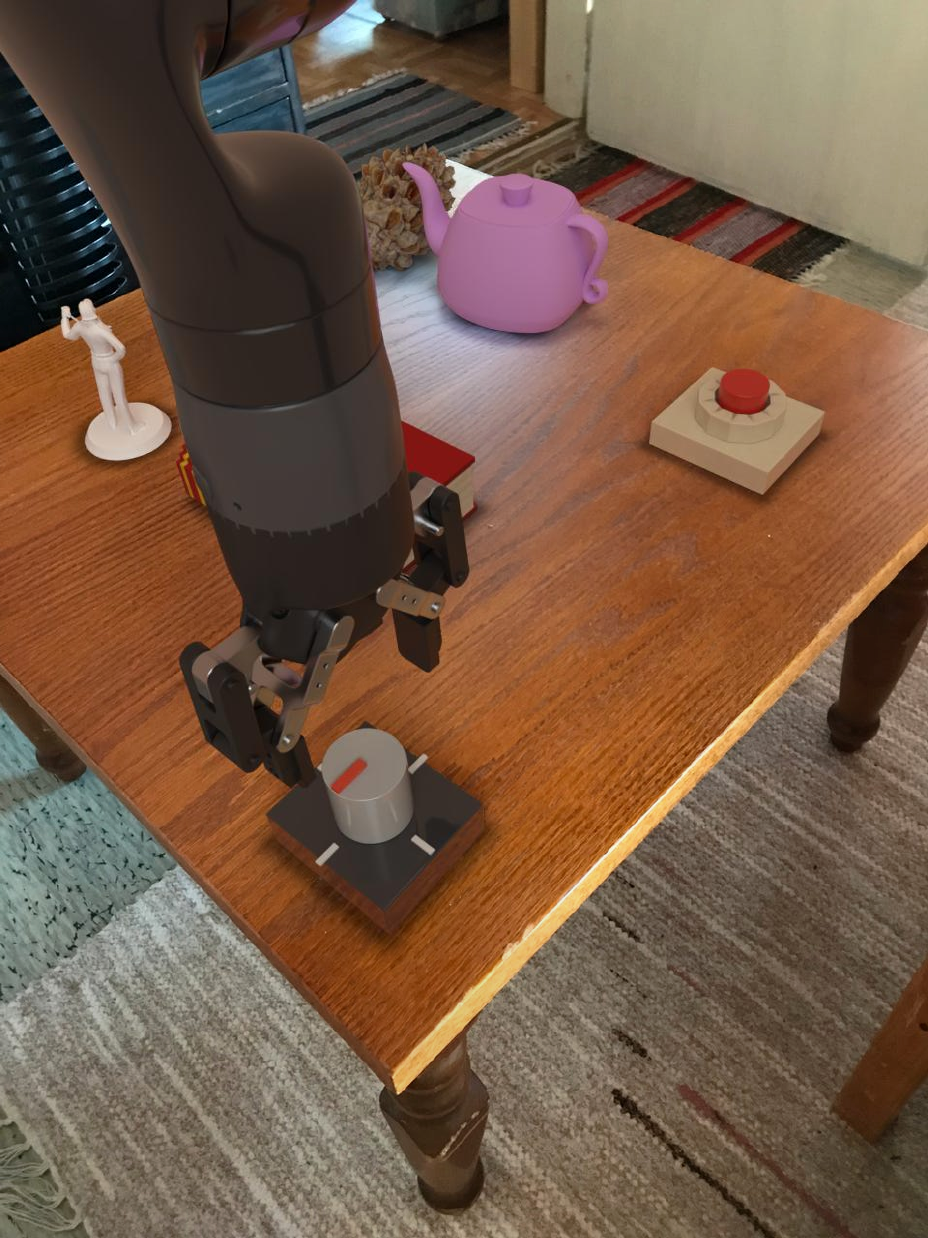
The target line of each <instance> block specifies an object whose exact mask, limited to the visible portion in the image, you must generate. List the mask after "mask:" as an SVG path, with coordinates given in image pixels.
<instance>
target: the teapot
mask: <svg viewBox="0 0 928 1238" xmlns="http://www.w3.org/2000/svg"><path fill="white" fill-rule="evenodd" d="M402 165H403V167H404V169H405V170H406V171H407V172H408V173H409V175H410V176H411V177H412V178H413V179H414V181H415V183H416V184H417V186H418V188H419V192H420V195H421V200H422V209H423V222H424V231H425V235H426V239H427V241H428V244H429V246H430V248H429V249H430V250H431V251H432V253H433V254H434V256H435V257H437V259H438V260H437V261H438V263H437V271H436V286H437V290H438V294H439V296H440V297H441V299H442V300H443V302H444V303H445V304H446V306H447V307H448V308H449V309H450V310H451V311H452V312H453V313H454V314H455V315H457V316H459V317H460V318H462V319H464V320H466V321H468V322H470V323H472V324H475V325H478V326H480V327H483V328H487V329H490V330H496V331H500V332H508V333H520V334H536V333H545V332H549V331H552V330H554V329H556V328H558V327H560V326H561V325H562V324H564V323H565V322H566V321H567V320H568V319H570V317H571V316H572V315H573V314H574V313H575V312H576V311H577V309H578V308H579V307H580V306H581V305H582V303H583V302H585V303H587V304H589V305H596V304H597V305H598V304H600V303H603V302H604V301H605V300H606V299H607V298H608V295H609V292H610V291H609V290H610V287H609V284H608V283H607V281H606V280H605V279H604V278H602V277H597V275H598V273H599V271H600V270H601V267H602V265H603V263H604V260H605V258H606V255H607V253H608V250H609V249H608V248H609V234H608V231H607V229H606V227H605V226H604V224H602V222H601V221H600V220H599V219H597V218H596V217H594V216H593V215H590V214H587V213H584V211H583V209H582V207H581V204H580V203H579V201H578V199H577V197H576V195H575V194H574V192H572V191H571V190H570V189H569V188H568V187H565V186H563V185H560V184H557V183H555V182H551V181H549V180H545V179H540V178H535V177H532V176H530V175H528V174H523V173H511V174H507V175H500V176H499V175H497V176H493V177H487V178H485V179H484V180H482V181H480V182H479V183H477V184H476V185H474V187H473V188H472V189H470V190H469V191H468V192H467V193H466V194H465V195H464V196H463V197H462V199H461V200H460V201H459V203H458V205H457V207H456V209H455V211H454V213H453V215H452V217H451V216H450V215H449V212H448V211H447V212H446V210H445V208H444V205H443V202H442V199H441V196H440V192H439V190H438V187H437V185H436V183H435V181H434V179H433V178H432V176H431V175H430V174H429V173H428V172H427V171H426V170H425V169H423V168H422V167H420V166H418V165H415V164H413V163H408V162H405V163H403V164H402ZM594 287H595V288H596V289H597V290H595V289H594Z"/></svg>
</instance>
